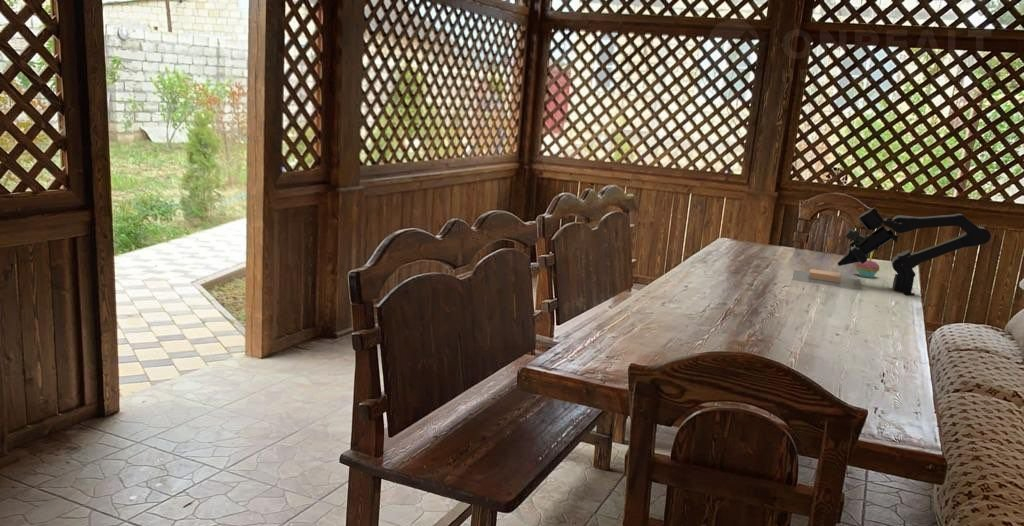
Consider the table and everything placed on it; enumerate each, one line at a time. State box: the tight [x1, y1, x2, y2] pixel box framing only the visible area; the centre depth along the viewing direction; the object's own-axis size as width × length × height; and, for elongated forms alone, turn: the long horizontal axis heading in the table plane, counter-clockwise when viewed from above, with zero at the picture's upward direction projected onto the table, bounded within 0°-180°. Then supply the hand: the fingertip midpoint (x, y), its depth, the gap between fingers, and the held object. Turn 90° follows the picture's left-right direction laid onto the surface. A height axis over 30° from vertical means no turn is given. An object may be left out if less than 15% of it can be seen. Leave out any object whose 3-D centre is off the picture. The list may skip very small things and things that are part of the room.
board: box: [792, 269, 863, 291], centre depth 280 cm, size 24×20×1 cm
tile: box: [809, 268, 842, 283], centre depth 280 cm, size 2×7×11 cm
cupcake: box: [855, 250, 880, 279], centre depth 291 cm, size 9×8×12 cm
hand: (838, 264), depth 278 cm, fingers closed
